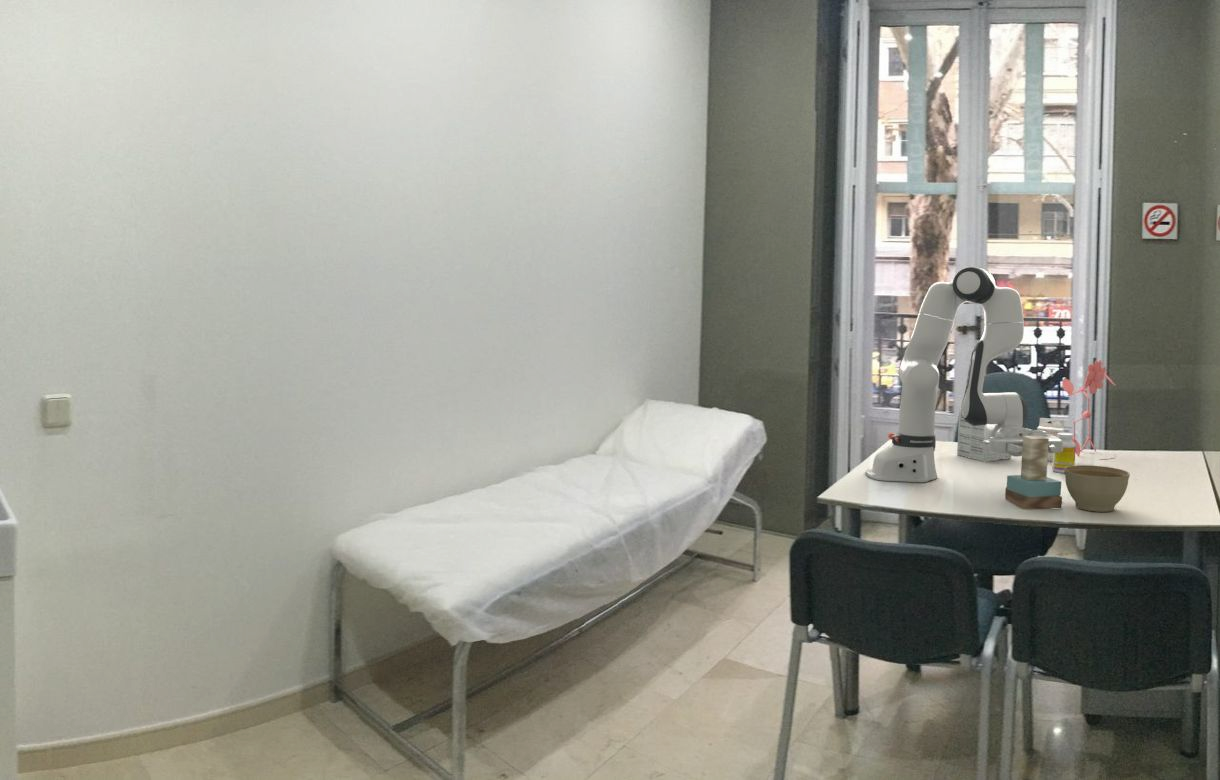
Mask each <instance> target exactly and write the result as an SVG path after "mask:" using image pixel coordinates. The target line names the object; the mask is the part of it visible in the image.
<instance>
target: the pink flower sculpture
mask: <svg viewBox="0 0 1220 780" xmlns="http://www.w3.org/2000/svg"><path fill="white" fill-rule="evenodd" d="M1106 370H1107V369H1106V366H1103V363H1102V360H1101V359H1100V360H1095V361H1094V363H1090V364H1088V366H1087V371H1088V373H1087V374H1086V379H1085V381H1084V384H1083V387H1082V388H1081V389H1079V390H1077V391H1075V392H1074V385H1073V382H1072V381H1071V380H1069V379H1068V378H1066V377H1064V378H1063V380H1062V381H1061V382H1062V383H1061V386H1062V389H1063V390H1064V391H1065V392H1066V393H1067V394H1068V395H1069V396H1073V395H1075V394H1078V393H1080V392H1082V393H1083V394H1084V395H1085V397H1086V398H1087V410H1085V411H1083V413H1082V416H1083V417H1081V418H1079V419H1077V420H1075V421H1074V422H1073V438H1072V441H1073V442H1074V443H1075V444H1076V448H1075V456H1077V457H1080V455H1081V452H1082V451H1083V450H1084V449H1085V447H1086V445H1087V444H1088V442H1089V443H1090V445H1091V447H1092V449H1093V451H1094V452H1095V453H1098V451H1097V450H1096V447H1095V446H1094V444H1093V442H1092V440H1091V417H1092V413H1091V411H1090V397H1089V395H1088V394H1090V395H1091V394H1094V395H1095V394H1097V392H1098V389H1099V390H1101V389H1103V388H1104V383H1103V381H1104V379H1105V378H1106V379H1107V381H1108V382H1110V383H1111V384H1112V385H1113V386H1114V387H1117V385H1116V384H1115V383H1114V382H1113V380H1112V378H1110V377H1109V376H1108V375H1107V374H1106ZM1086 388H1088V389H1086ZM1086 392H1089V393H1088V394H1087V393H1086ZM1083 419H1088V436H1086V441H1085V443H1084V444H1083V446H1082V447H1081V445H1080V443H1079V442H1078V440H1077V439H1076V423H1077V422H1079V421H1081V420H1083ZM1096 451H1097V452H1096ZM1113 455H1115V456H1116V454H1115V453H1113ZM1101 460H1102V461H1103V460H1107V458H1104V459H1101V458H1099V461H1101ZM1110 460H1114V457H1113V458H1110Z"/></svg>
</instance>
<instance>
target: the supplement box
mask: <svg viewBox="0 0 1220 780" xmlns="http://www.w3.org/2000/svg"><path fill="white" fill-rule="evenodd" d="M985 426H986V425H979V426H972V425H971V424H969V423H968V422H967V421H965V420H964V418H963V417H962V414H961V407H960V408H959V411H958V430H957V446H956V447H957V449H956V455H957V456H959V455H961V456H960V457H963V456H965V457H964V458H967V457H969V458H968V459H971V458H973V459H972V460H975V459H977V460H976V461H979V460H981V461H980V462H983V461H986V462H991V461H990V460H994V461H1000V460H999V459H1003V460H1008V458H1011V459H1012V455H1010V454H1007V453H997V452H993V451H991V450H990V449H989V448H988V445H986V444H984V443H983V441H984V440H986V438H985V436H984V427H985Z"/></svg>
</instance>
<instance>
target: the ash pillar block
mask: <svg viewBox="0 0 1220 780" xmlns="http://www.w3.org/2000/svg"><path fill="white" fill-rule="evenodd" d="M1048 442H1049V439H1048V438H1045V437H1042V436H1023V444H1022V447H1023V449H1022V456H1021V468H1020V475H1021V477H1023V478H1025V479H1027V480H1046V478H1047V477H1048V476H1047V475H1048V461H1047V460H1048Z"/></svg>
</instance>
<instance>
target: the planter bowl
mask: <svg viewBox="0 0 1220 780" xmlns="http://www.w3.org/2000/svg"><path fill="white" fill-rule="evenodd" d="M1064 471H1065V473H1064V479H1065V485H1066V488H1067V491H1068V493H1069V495H1070V497H1071V498H1072V500H1073V501H1074V502H1075V507H1076V508H1078V509H1080V510H1084V511H1089V512H1097V513H1099V512H1101V513H1102V512H1103V513H1104V512H1105V513H1107V512H1108V513H1109V512H1113V511H1115V508H1116V505H1117V504H1118V503H1119V502H1120V501H1121V500H1122V499H1123V497H1124V496H1125V493H1126V490H1127V488H1128V484H1129V479H1130V476H1131V475H1130V472H1129V471H1127V470H1125V469H1120V468H1116V467H1111V466H1103V465H1092V464H1091V465H1089V464H1088V465H1087V464H1081V465H1080V464H1076V465H1074V466H1068V467H1066V468H1065V469H1064Z"/></svg>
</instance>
